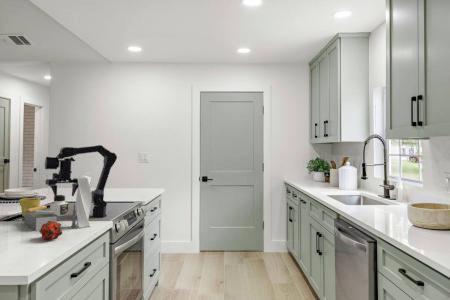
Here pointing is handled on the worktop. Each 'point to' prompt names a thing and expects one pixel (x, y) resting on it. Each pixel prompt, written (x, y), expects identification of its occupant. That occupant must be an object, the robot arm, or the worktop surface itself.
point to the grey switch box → (38, 219)
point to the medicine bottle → (59, 206)
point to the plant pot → (28, 204)
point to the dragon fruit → (51, 230)
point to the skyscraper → (82, 203)
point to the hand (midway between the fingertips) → (64, 196)
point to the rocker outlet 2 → (44, 212)
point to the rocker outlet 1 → (37, 208)
